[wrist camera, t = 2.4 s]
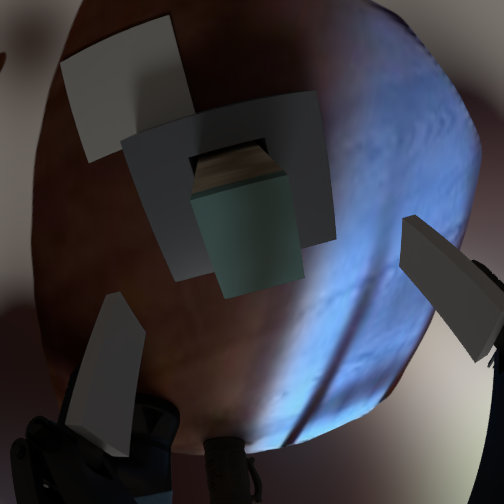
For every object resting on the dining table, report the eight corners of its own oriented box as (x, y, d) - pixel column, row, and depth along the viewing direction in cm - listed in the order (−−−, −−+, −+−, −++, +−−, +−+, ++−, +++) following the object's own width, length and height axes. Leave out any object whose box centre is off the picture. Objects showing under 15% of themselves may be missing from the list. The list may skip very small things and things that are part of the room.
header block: (180, 250, 32) (175, 281, 27) (137, 132, 25) (119, 141, 20) (316, 214, 32) (336, 239, 27) (295, 91, 25) (316, 89, 20)
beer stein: (195, 447, 61) (204, 513, 45) (209, 434, 57) (221, 508, 40) (245, 449, 67) (260, 508, 51) (264, 436, 63) (282, 501, 46)
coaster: (90, 162, 25) (88, 163, 25) (62, 63, 19) (60, 63, 19) (198, 122, 25) (197, 122, 25) (169, 16, 19) (168, 14, 19)
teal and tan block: (217, 207, 30) (224, 299, 17) (200, 149, 27) (189, 200, 14) (263, 195, 30) (304, 277, 17) (249, 136, 27) (287, 174, 14)
